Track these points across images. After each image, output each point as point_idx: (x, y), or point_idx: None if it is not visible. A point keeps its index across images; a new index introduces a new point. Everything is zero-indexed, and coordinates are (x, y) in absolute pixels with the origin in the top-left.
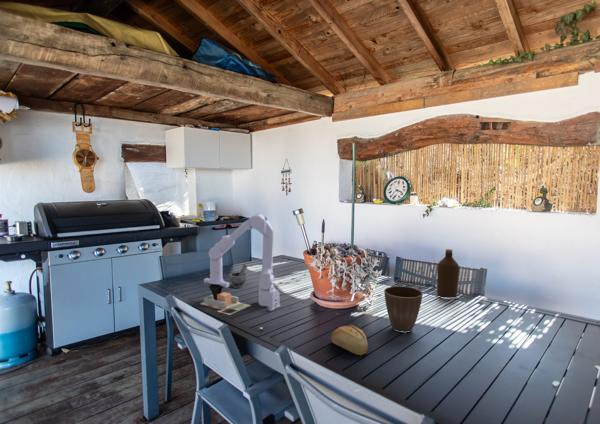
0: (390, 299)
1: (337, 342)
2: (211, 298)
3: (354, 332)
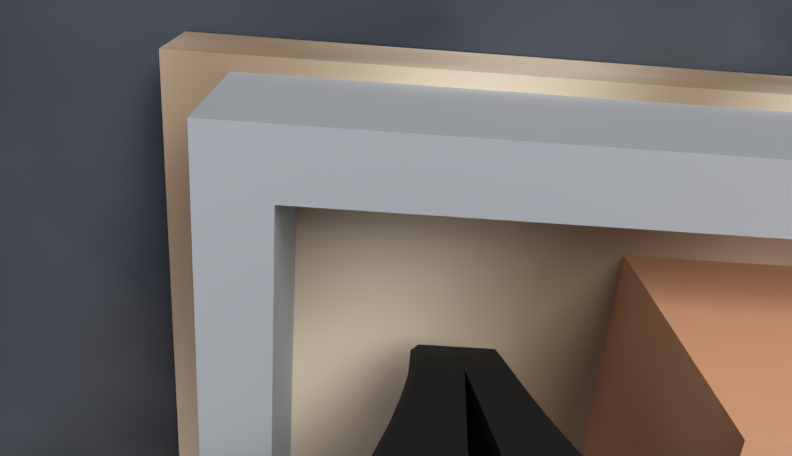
0: None
1: None
2: (282, 436)
3: None
